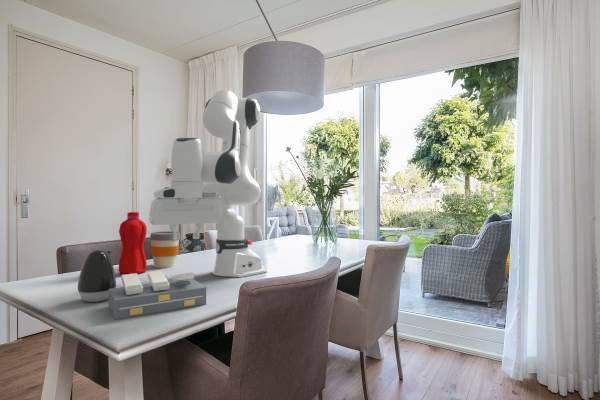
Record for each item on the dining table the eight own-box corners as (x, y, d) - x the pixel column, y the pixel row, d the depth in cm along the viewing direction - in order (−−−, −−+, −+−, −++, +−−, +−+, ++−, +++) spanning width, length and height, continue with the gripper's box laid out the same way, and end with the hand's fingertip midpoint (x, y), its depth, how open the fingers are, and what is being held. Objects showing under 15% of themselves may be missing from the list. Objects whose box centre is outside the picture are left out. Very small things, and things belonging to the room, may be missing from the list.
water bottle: (130, 269, 151) (130, 211, 150) (150, 271, 147) (150, 211, 146) (111, 273, 142) (112, 211, 142) (132, 276, 138) (132, 212, 138)
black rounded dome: (124, 296, 111) (124, 248, 111) (98, 306, 101) (98, 253, 101) (96, 293, 113) (97, 246, 113) (68, 303, 103) (69, 251, 103)
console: (192, 293, 114) (192, 275, 114) (206, 304, 104) (206, 284, 103) (108, 306, 101) (108, 285, 101) (115, 319, 90) (115, 296, 90)
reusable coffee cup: (166, 269, 150) (166, 234, 150) (143, 267, 155) (143, 233, 155) (185, 264, 162) (185, 232, 162) (163, 262, 167) (164, 231, 166)
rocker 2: (161, 275, 107) (162, 270, 107) (169, 289, 100) (169, 283, 100) (147, 276, 105) (148, 271, 104) (154, 291, 98) (154, 285, 97)
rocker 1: (136, 277, 103) (137, 272, 103) (142, 292, 96) (143, 287, 96) (121, 279, 101) (121, 274, 100) (126, 294, 94) (126, 289, 93)
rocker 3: (185, 280, 111) (184, 274, 111) (194, 278, 104) (193, 272, 104) (172, 281, 108) (171, 276, 109) (180, 279, 101) (180, 274, 102)
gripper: (216, 192, 112) (216, 236, 112) (148, 191, 100) (147, 240, 100) (224, 192, 106) (224, 238, 106) (153, 191, 95) (152, 242, 95)
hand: (186, 239), depth 103 cm, fingers open, 4 cm apart
